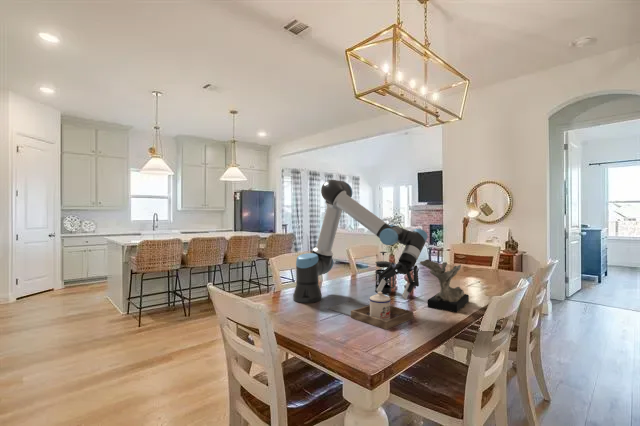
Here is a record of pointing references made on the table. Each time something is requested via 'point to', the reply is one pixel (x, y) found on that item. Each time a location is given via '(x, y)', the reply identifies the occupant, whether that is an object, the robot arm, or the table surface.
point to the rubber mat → (346, 308)
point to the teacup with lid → (380, 306)
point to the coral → (446, 288)
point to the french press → (386, 287)
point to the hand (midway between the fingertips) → (390, 294)
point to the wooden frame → (361, 315)
